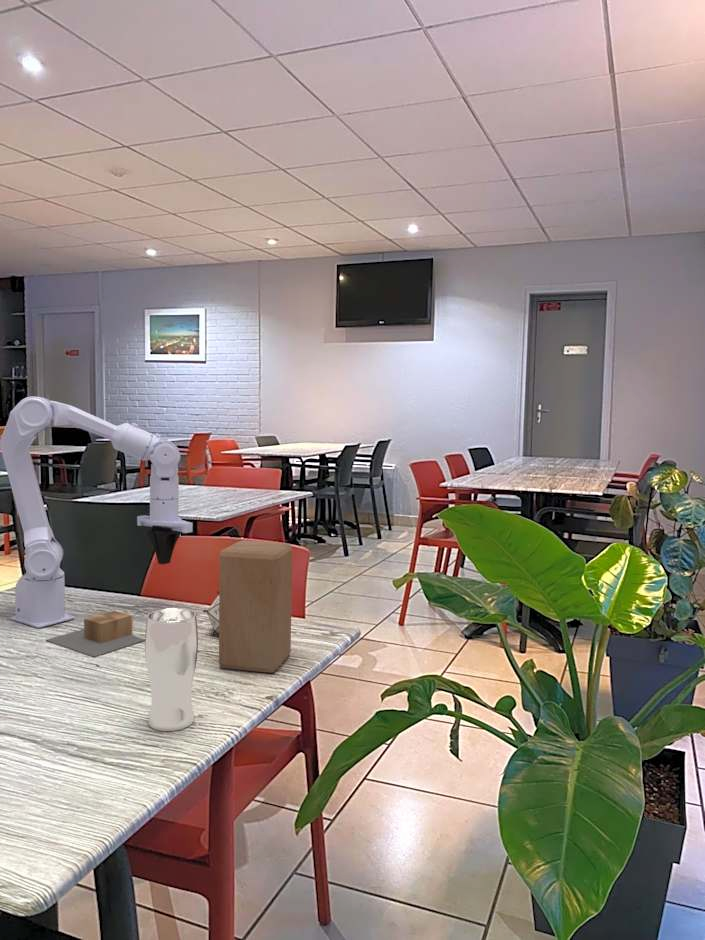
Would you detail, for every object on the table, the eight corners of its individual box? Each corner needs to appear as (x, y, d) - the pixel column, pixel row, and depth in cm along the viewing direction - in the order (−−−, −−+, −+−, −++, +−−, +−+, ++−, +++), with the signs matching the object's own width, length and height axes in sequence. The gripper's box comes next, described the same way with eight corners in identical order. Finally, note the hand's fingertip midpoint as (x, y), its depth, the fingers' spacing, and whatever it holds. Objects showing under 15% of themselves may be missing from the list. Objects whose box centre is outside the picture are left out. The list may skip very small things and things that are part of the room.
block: (274, 675, 113) (276, 553, 111) (216, 669, 115) (217, 549, 113) (292, 654, 123) (294, 542, 121) (238, 649, 125) (239, 538, 123)
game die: (228, 656, 132) (219, 624, 125) (200, 631, 136) (190, 600, 130) (264, 626, 136) (256, 594, 130) (235, 603, 141) (227, 571, 134)
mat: (45, 640, 127) (45, 639, 127) (97, 626, 136) (97, 625, 136) (94, 657, 119) (94, 656, 119) (145, 640, 128) (145, 639, 128)
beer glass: (176, 706, 101) (177, 604, 99) (208, 720, 96) (208, 614, 95) (134, 722, 95) (134, 614, 94) (165, 738, 91) (165, 625, 90)
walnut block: (115, 628, 134) (84, 637, 128) (115, 610, 134) (83, 618, 128) (133, 633, 131) (101, 643, 126) (133, 614, 131) (101, 623, 125)
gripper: (203, 499, 143) (203, 564, 144) (155, 493, 151) (155, 555, 152) (177, 503, 137) (177, 571, 139) (128, 496, 145) (129, 560, 147)
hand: (164, 563), depth 145 cm, fingers closed
